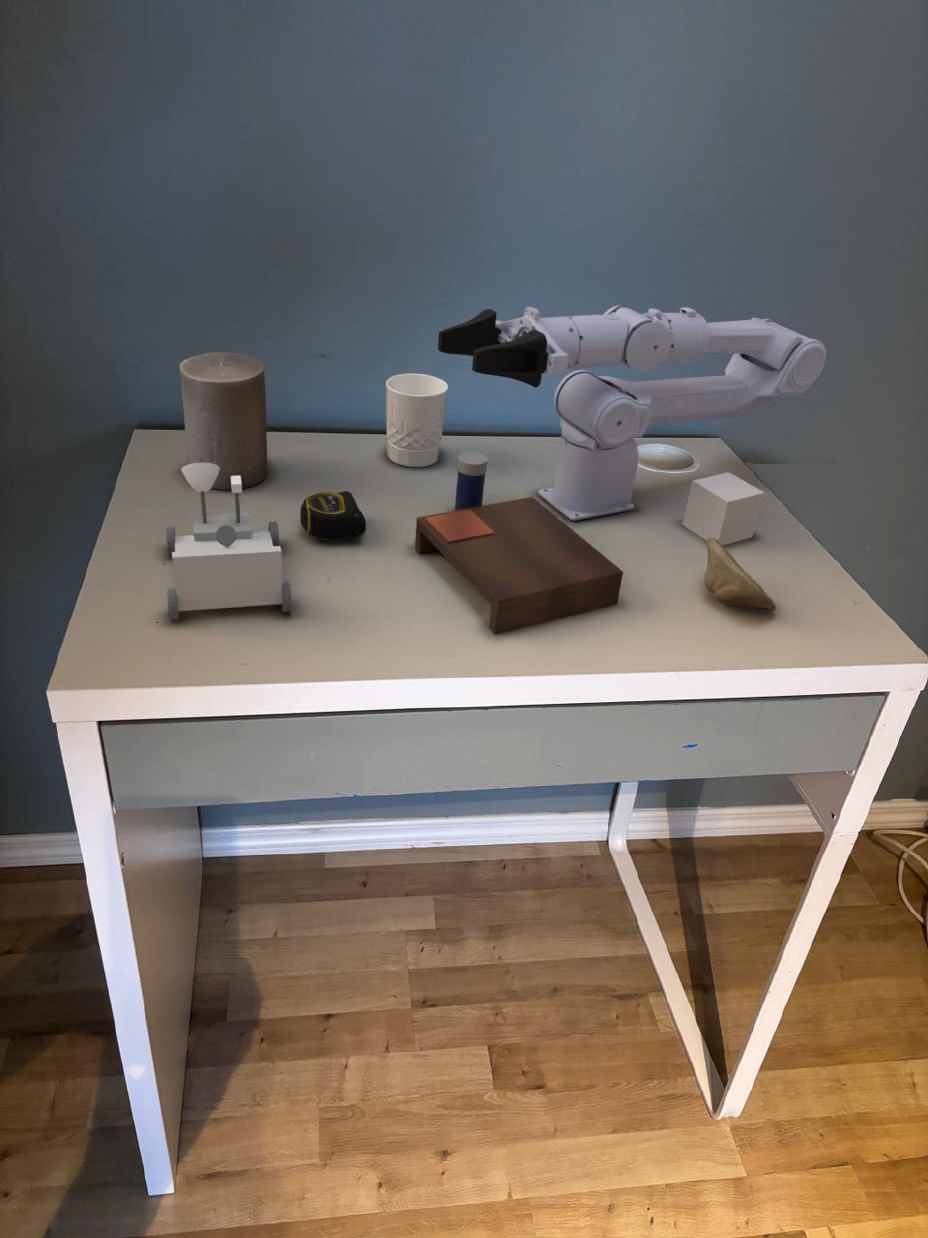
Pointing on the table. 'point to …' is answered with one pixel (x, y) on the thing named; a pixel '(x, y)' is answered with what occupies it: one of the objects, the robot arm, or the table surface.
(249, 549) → the toy car
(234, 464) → the pillar candle
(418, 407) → the white cup
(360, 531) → the tape measure
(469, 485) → the glue stick
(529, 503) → the desk shelf
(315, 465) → the table surface
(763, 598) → the samosa
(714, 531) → the white cube
